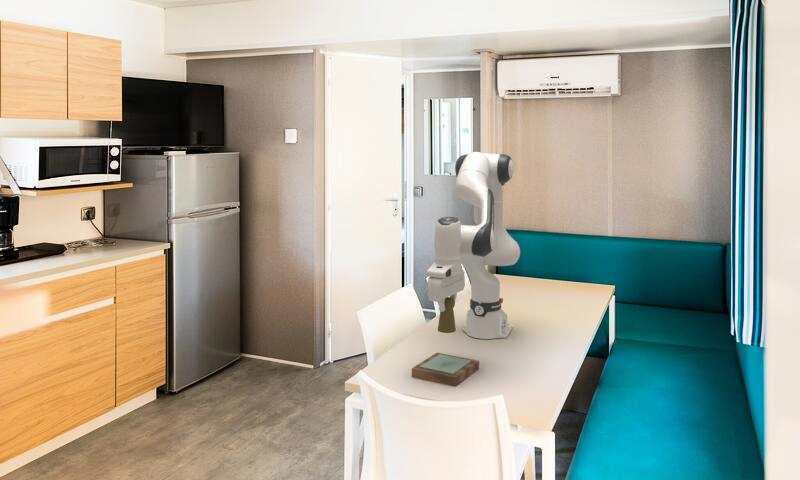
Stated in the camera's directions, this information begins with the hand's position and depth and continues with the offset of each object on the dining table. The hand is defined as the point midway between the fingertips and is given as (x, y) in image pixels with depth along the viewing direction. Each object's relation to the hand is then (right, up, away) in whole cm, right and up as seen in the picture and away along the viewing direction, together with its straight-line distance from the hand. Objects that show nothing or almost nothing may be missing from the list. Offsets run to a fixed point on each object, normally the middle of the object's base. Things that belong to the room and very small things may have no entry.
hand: (446, 308), depth 214 cm
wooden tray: (0, -22, +4) cm, 22 cm away
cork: (0, -7, +1) cm, 8 cm away
